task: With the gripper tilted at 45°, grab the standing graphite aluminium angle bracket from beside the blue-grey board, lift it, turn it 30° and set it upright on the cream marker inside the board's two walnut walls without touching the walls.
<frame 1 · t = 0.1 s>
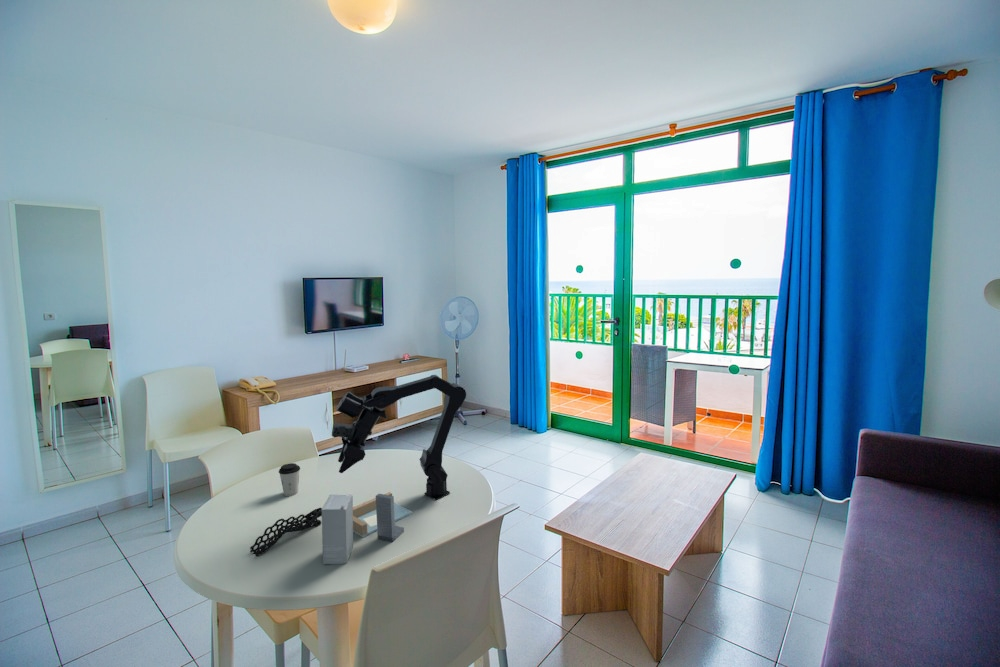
hand: (339, 467, 148), 15 cm above the table, tool tilted 35°, fingers open, 9 cm apart
decorative element: (291, 538, 135), on the table
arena: (377, 518, 145), on the table
skincare box: (339, 556, 125), on the table
coffee cup: (291, 493, 163), on the table
bracket: (386, 539, 133), on the table
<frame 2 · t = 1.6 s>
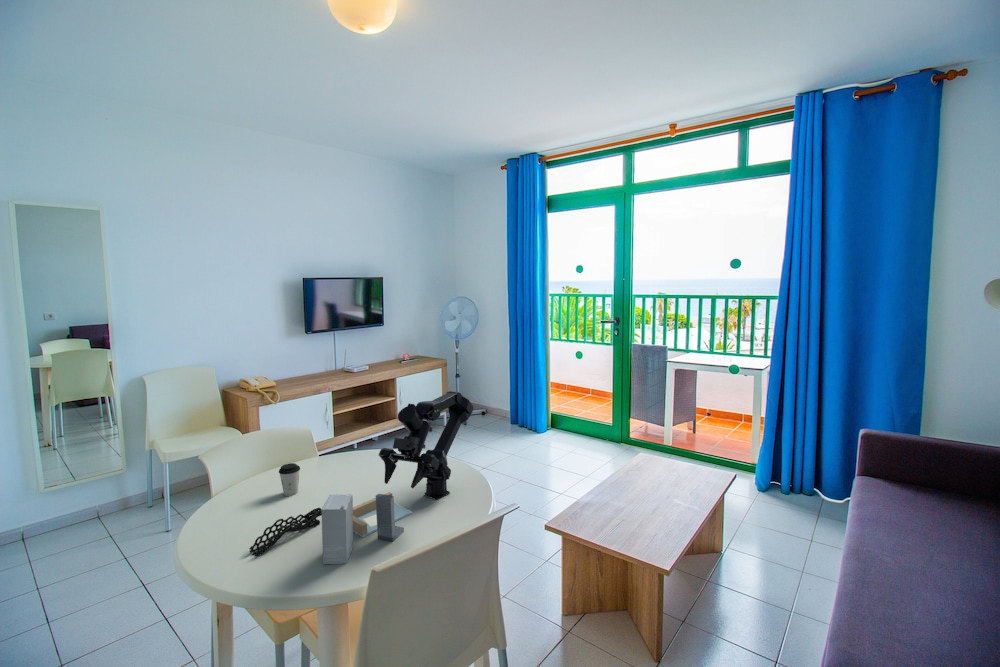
hand: (398, 485, 138), 13 cm above the table, tool tilted 45°, fingers open, 9 cm apart
nothing on the table moved.
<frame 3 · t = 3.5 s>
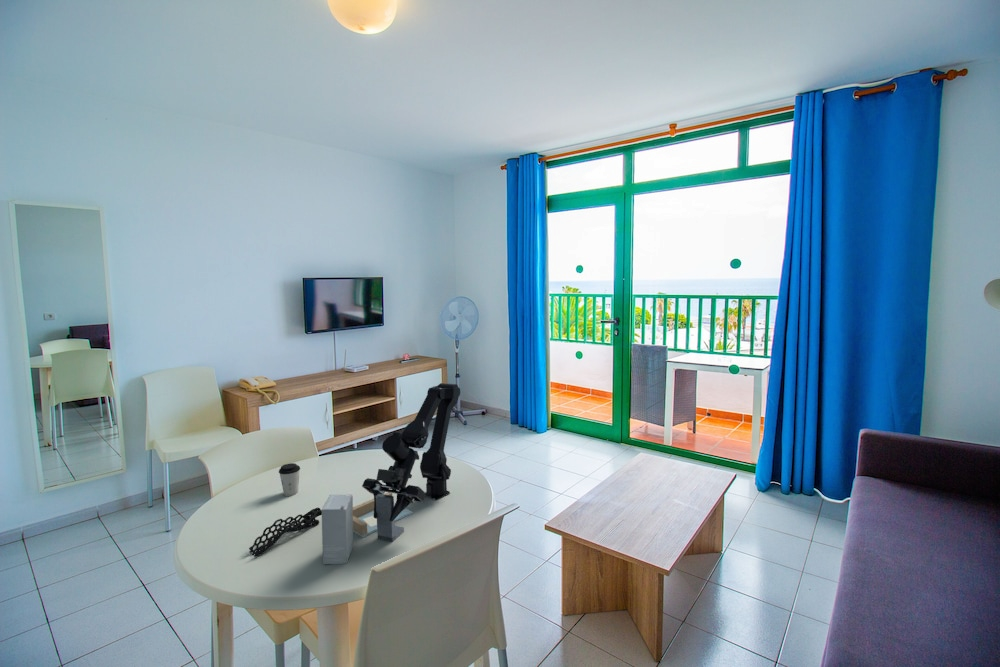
hand: (382, 519, 131), 7 cm above the table, tool tilted 45°, fingers closed on bracket, 5 cm apart
bracket: (386, 539, 133), on the table, touching gripper
everything else where it was.
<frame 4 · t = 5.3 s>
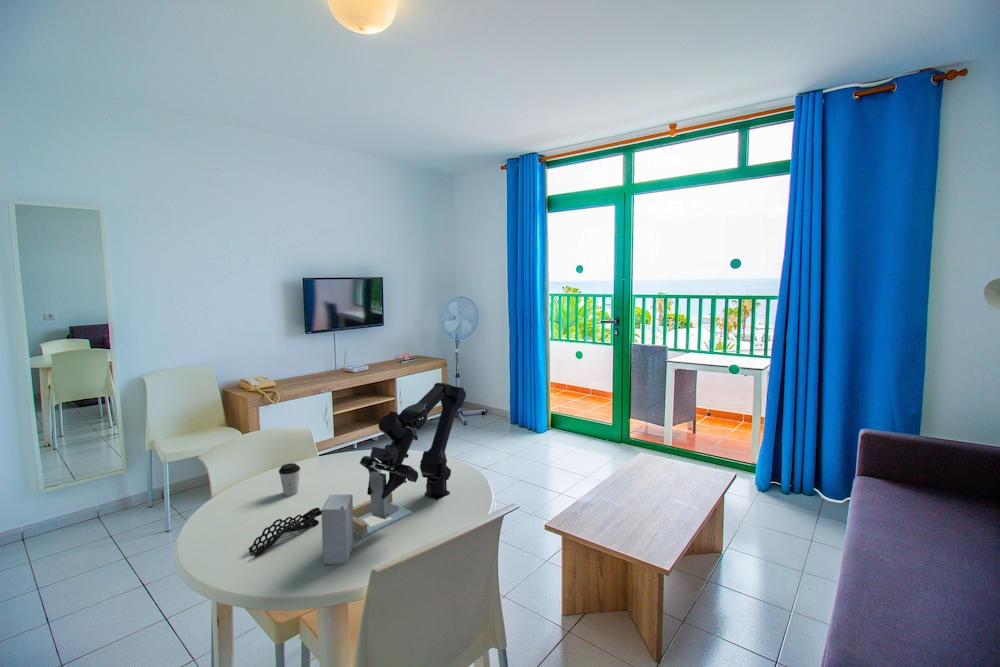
hand: (375, 496, 133), 12 cm above the table, tool tilted 45°, fingers closed on bracket, 5 cm apart
bracket: (380, 516, 135), point 6 cm above the table, touching gripper
everything else where it was.
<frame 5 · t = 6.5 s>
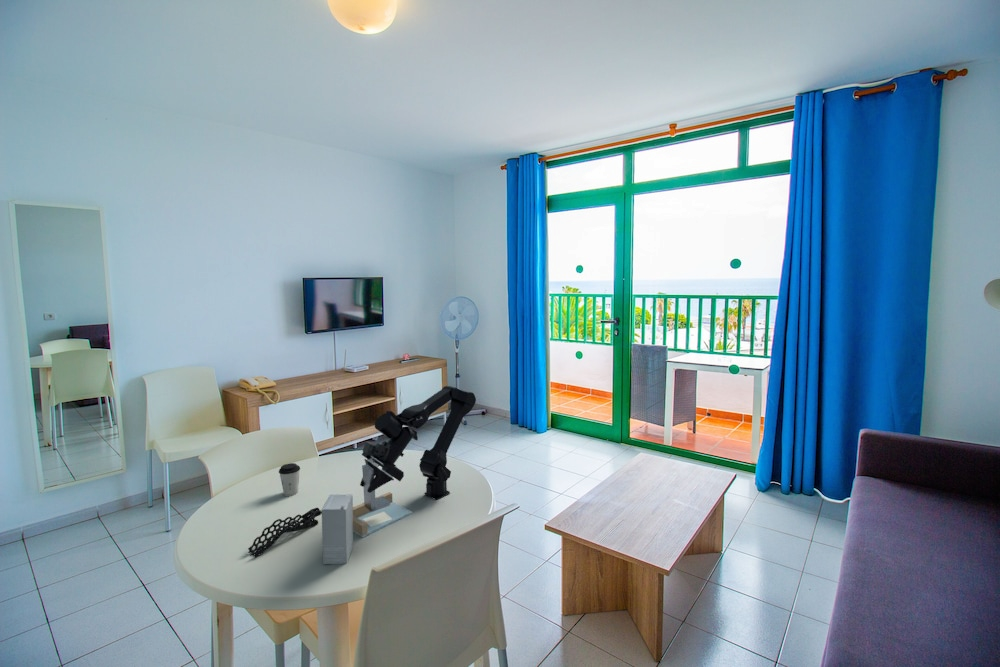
hand: (364, 488, 139), 12 cm above the table, tool tilted 45°, fingers closed on bracket, 5 cm apart
bracket: (370, 508, 141), point 5 cm above the table, touching gripper
everything else where it was.
when the fingers open (8 cm above the table, at t = 7.5 s): bracket stays where it is, resting on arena.
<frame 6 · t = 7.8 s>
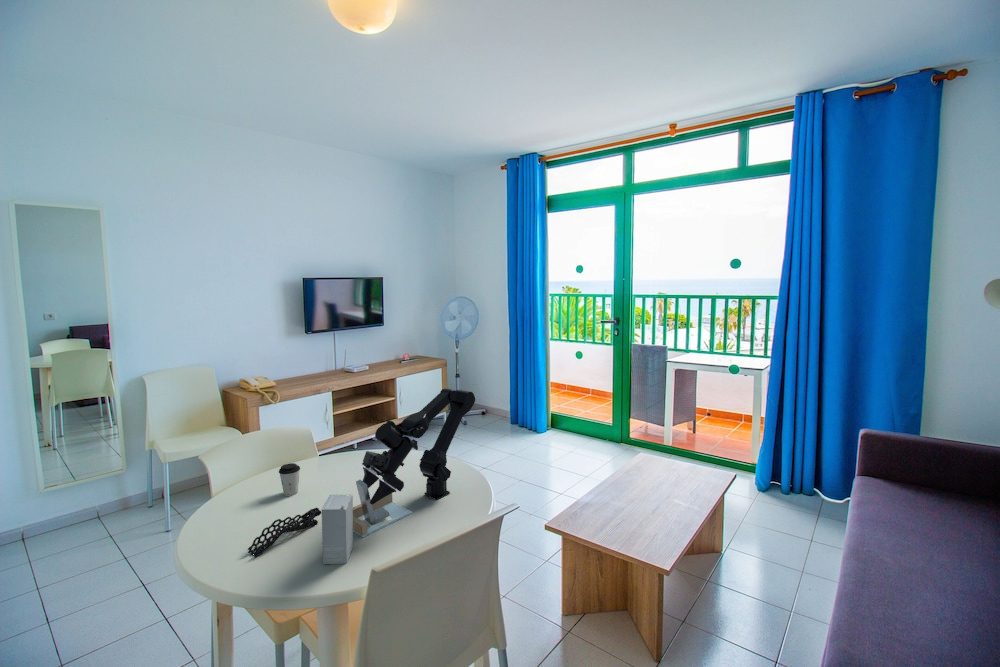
hand: (365, 498, 140), 8 cm above the table, tool tilted 45°, fingers open, 8 cm apart
bracket: (370, 521, 142), point 1 cm above the table, tilted 10°, touching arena
everything else where it was.
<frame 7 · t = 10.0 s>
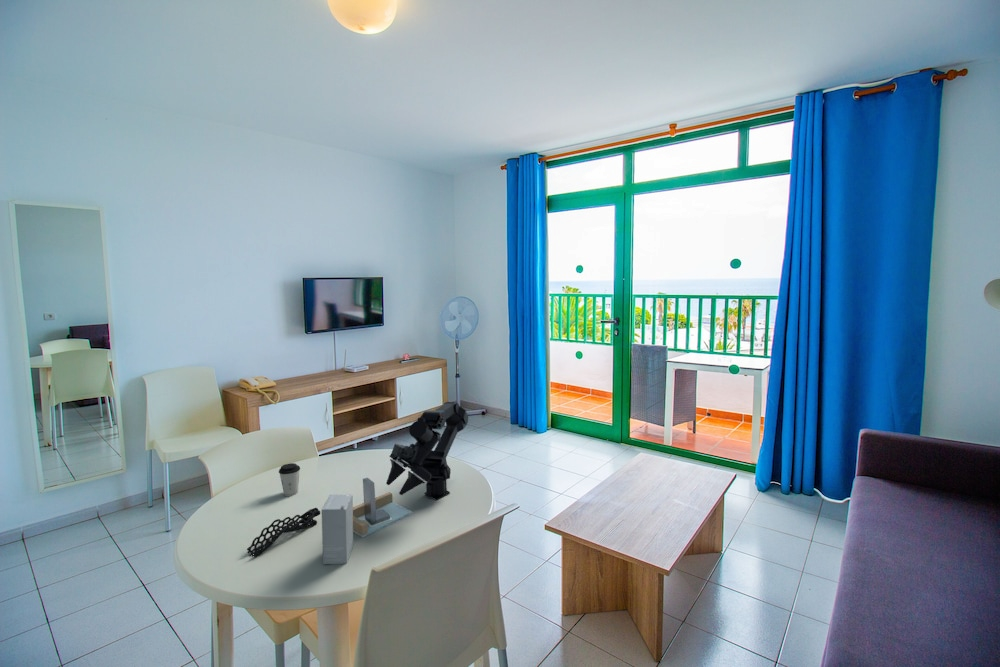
hand: (393, 489, 146), 8 cm above the table, tool tilted 45°, fingers open, 9 cm apart
bracket: (370, 521, 142), point 1 cm above the table, touching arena
everything else where it was.
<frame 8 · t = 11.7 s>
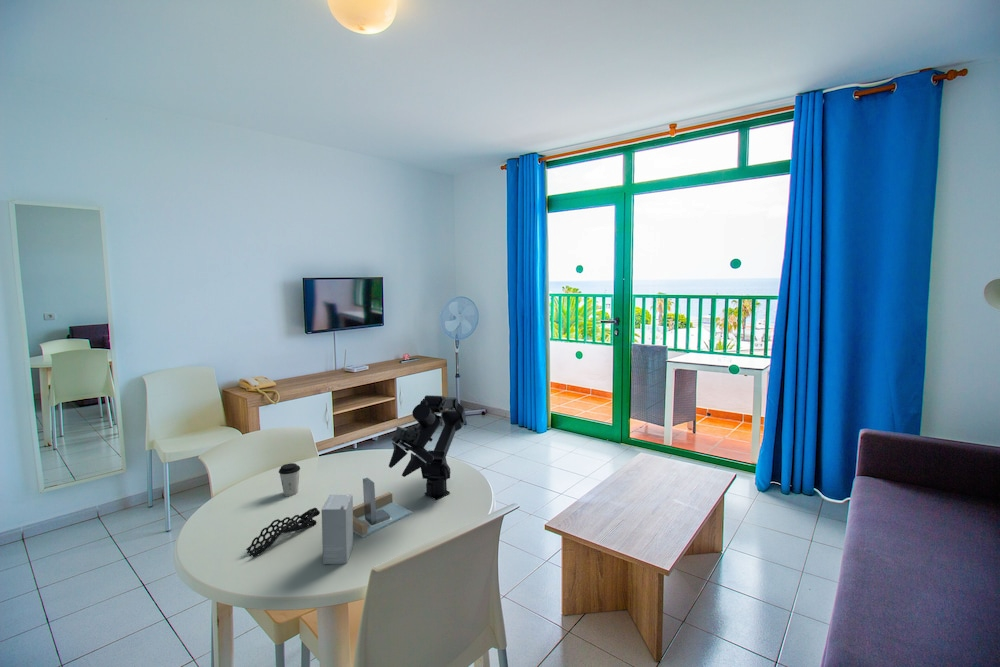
hand: (396, 471, 147), 14 cm above the table, tool tilted 45°, fingers open, 9 cm apart
at the end: bracket 0.0 cm from the target spot, point 0.7 cm above the table; bracket tilted 0°; the gripper is holding nothing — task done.
